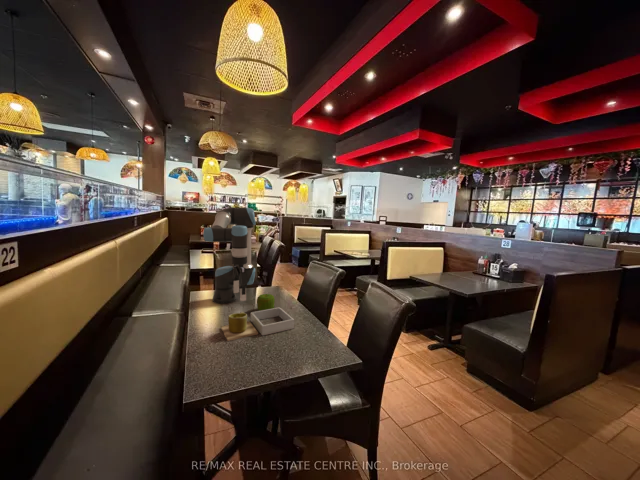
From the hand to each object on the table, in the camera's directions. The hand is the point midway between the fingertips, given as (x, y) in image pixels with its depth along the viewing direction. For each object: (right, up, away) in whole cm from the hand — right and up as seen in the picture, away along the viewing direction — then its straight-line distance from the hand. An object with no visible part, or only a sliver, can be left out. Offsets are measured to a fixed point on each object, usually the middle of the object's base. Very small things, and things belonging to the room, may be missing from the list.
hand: (239, 296), depth 133 cm
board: (-1, -19, +2) cm, 19 cm away
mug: (-1, -18, +2) cm, 18 cm away
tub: (+15, -18, +11) cm, 26 cm away
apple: (+7, -16, +31) cm, 35 cm away
